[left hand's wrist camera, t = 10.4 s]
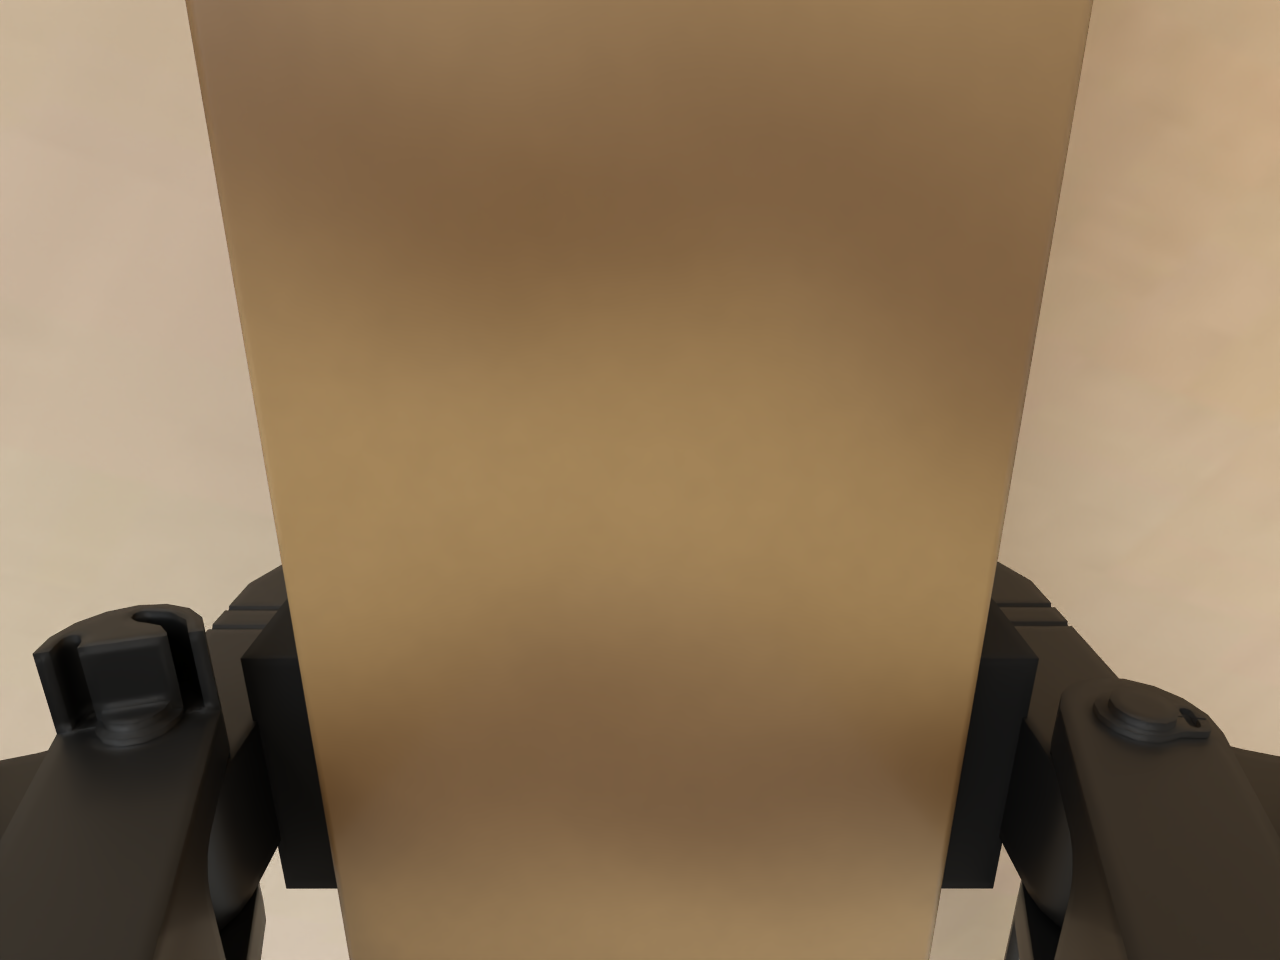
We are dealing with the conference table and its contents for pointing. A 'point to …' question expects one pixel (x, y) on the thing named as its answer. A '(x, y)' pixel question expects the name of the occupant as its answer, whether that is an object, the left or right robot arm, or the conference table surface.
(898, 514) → the beam
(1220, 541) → the conference table surface
